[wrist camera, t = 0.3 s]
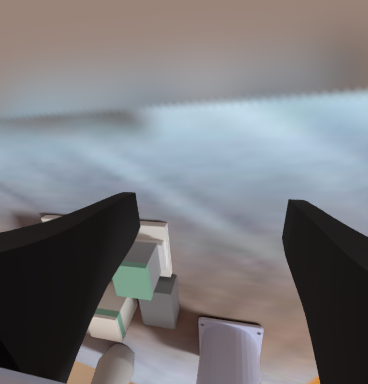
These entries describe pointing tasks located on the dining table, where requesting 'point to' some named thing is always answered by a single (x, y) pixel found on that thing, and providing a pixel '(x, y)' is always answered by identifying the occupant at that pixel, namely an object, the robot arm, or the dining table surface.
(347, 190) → the dining table surface
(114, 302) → the block
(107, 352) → the salt shaker
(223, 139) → the dining table surface
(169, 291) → the relay
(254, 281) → the dining table surface
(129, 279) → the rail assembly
